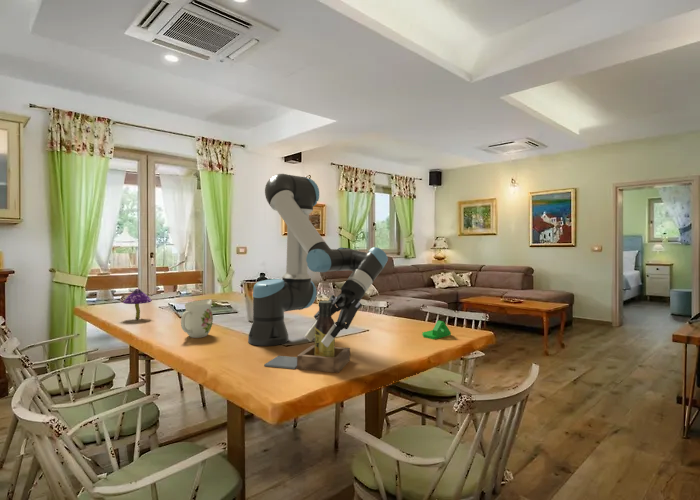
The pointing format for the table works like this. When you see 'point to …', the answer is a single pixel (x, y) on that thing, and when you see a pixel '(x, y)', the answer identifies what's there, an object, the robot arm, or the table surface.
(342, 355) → the walnut collar
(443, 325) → the bracket
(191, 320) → the pitcher
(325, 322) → the sauce bottle
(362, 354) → the table surface
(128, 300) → the decorative mushroom
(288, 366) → the slate coaster
